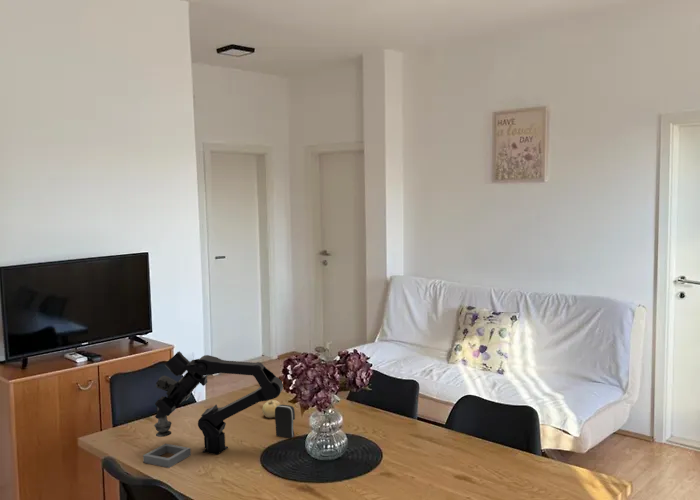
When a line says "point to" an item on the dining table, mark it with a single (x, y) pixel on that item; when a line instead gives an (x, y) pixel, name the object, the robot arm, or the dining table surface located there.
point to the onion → (270, 408)
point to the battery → (284, 420)
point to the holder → (155, 458)
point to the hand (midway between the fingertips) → (158, 415)
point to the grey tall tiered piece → (163, 426)
